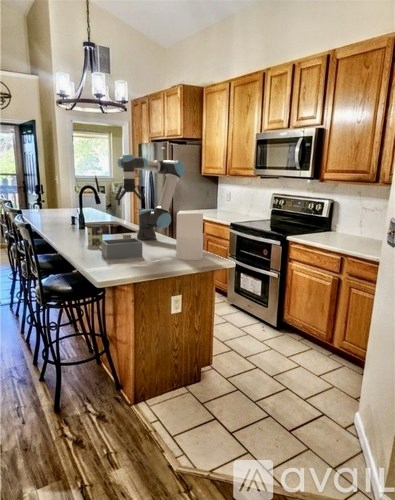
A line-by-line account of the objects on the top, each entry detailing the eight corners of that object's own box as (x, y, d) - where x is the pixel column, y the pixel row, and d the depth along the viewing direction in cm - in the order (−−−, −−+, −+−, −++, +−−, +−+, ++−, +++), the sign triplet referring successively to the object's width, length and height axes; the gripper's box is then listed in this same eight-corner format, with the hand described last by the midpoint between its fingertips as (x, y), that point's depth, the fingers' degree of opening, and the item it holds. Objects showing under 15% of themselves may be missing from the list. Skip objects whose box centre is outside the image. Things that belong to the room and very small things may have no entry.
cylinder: (172, 254, 233) (173, 211, 226) (196, 252, 239) (197, 211, 233) (181, 260, 217) (182, 215, 211) (207, 258, 224) (208, 214, 217)
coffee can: (105, 244, 256) (104, 224, 253) (98, 247, 246) (98, 227, 243) (92, 243, 258) (91, 223, 255) (85, 246, 248) (84, 226, 245)
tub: (135, 252, 234) (135, 237, 231) (142, 257, 222) (142, 242, 219) (101, 255, 223) (101, 240, 221) (107, 261, 211) (106, 244, 209)
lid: (130, 246, 251) (130, 232, 249) (137, 251, 239) (137, 236, 236) (98, 249, 241) (98, 234, 239) (103, 254, 229) (102, 238, 226)
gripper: (144, 177, 246) (145, 207, 252) (109, 178, 234) (110, 210, 240) (148, 178, 240) (149, 209, 245) (112, 178, 228) (113, 211, 234)
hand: (130, 209), depth 243 cm, fingers open, 13 cm apart
